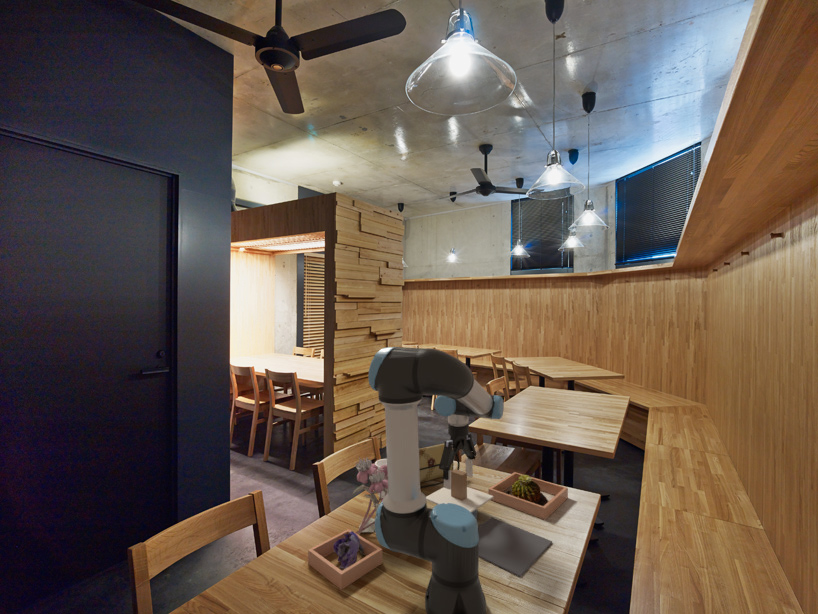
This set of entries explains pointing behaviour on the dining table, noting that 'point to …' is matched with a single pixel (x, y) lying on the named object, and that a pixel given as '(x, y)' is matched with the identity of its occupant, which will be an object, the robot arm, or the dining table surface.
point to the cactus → (528, 491)
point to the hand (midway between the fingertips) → (458, 482)
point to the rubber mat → (509, 546)
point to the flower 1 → (348, 549)
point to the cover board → (466, 503)
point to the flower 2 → (371, 489)
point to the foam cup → (379, 464)
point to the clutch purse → (432, 463)
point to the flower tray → (351, 572)
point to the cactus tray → (526, 505)
